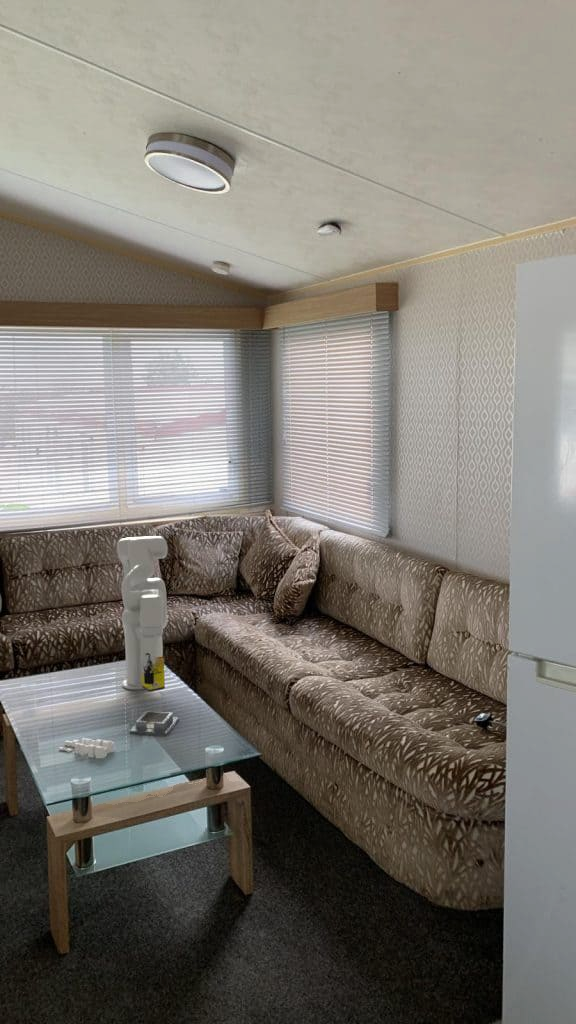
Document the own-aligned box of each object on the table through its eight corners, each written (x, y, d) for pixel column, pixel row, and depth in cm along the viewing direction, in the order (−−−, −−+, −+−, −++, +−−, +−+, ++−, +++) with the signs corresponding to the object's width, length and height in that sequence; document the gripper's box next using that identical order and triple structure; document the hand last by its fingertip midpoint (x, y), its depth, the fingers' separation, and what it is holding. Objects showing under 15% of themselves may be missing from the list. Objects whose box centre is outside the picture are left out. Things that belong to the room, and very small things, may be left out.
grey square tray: (143, 717, 304) (143, 708, 303) (178, 720, 301) (178, 710, 301) (129, 733, 290) (129, 723, 289) (166, 736, 288) (166, 726, 287)
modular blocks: (114, 751, 276) (113, 740, 276) (103, 760, 270) (102, 748, 269) (61, 743, 283) (61, 732, 282) (49, 751, 276) (49, 740, 276)
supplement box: (165, 688, 293) (164, 658, 291) (149, 692, 289) (148, 661, 288) (157, 684, 297) (156, 653, 296) (141, 687, 294) (140, 656, 293)
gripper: (150, 623, 300) (151, 670, 302) (132, 636, 283) (134, 687, 285) (170, 623, 298) (171, 671, 301) (154, 637, 281) (155, 688, 284)
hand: (153, 679), depth 293 cm, fingers closed on supplement box, 8 cm apart
